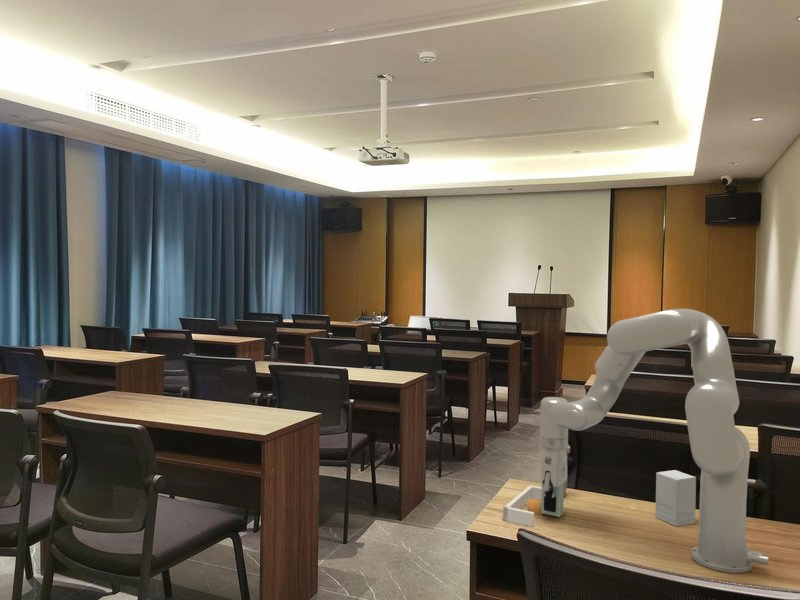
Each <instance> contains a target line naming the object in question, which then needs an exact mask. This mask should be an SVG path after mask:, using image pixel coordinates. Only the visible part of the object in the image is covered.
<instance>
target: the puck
mask: <svg viewBox="0 0 800 600" xmlns="http://www.w3.org/2000/svg"><path fill="white" fill-rule="evenodd" d="M527 511H530V512H534V516H540V515H541V516H542V515H544V514H543V513H541V500H540V499H529V500H528V503H527Z"/></svg>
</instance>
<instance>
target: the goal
mask: <svg viewBox="0 0 800 600" xmlns="http://www.w3.org/2000/svg"><path fill="white" fill-rule="evenodd" d="M529 499H540V500H541V499H542V486H535V485H531V484H529V485H528V486H527V487H526V488H525V489H523V490H522V491H521V492H520V493H519V494H517V495H516V496H515V497H514V498H513V499H512V500H510V501H509V502H508V503H507V504H505V506H503V508H502V511H503V512H502V515H503V516H502V521H504V522H508V523H512V524H518V525H521V526H522V525H523V526H525V525H527V526H526V527H530V526H531V527H530V528H533V527H534V526H535V515H534V512H530V511H528V510H524V509H522V508H524V507H525V506H526V505H528V500H529Z"/></svg>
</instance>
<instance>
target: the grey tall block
mask: <svg viewBox="0 0 800 600" xmlns="http://www.w3.org/2000/svg"><path fill="white" fill-rule="evenodd" d="M550 485H553V484H552V483H550ZM543 487H544V485H542V484H541V488H542V499H541V513H543V514H542V515H544V514H545V515H549V516H554V517H559V518H560V517H561V516H562V515H563V513H564V499H565V498H564V483H563V484H562V485H561V486H560V487H559V488H556V489H555V497H556V512H550V511H545V510H544V490H543ZM550 489H551V490H552V489H553V488H550Z"/></svg>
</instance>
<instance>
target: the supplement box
mask: <svg viewBox="0 0 800 600" xmlns="http://www.w3.org/2000/svg"><path fill="white" fill-rule="evenodd" d="M655 476H656V477H655V518H657V519H659V520H661V521H663V522H665V523H668V524H670V525H673V526H675V527H680V526H686V525H687V526H688V525H691V524H695V523H696V500H697V499H696V498H697V497H696V494H697V493H696V492H697V490H696V489H697V477H696V476H693V475H690V474H688V473H684V472H682V471H680V470H676V469H673V470H665V471H659V472H655Z"/></svg>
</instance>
